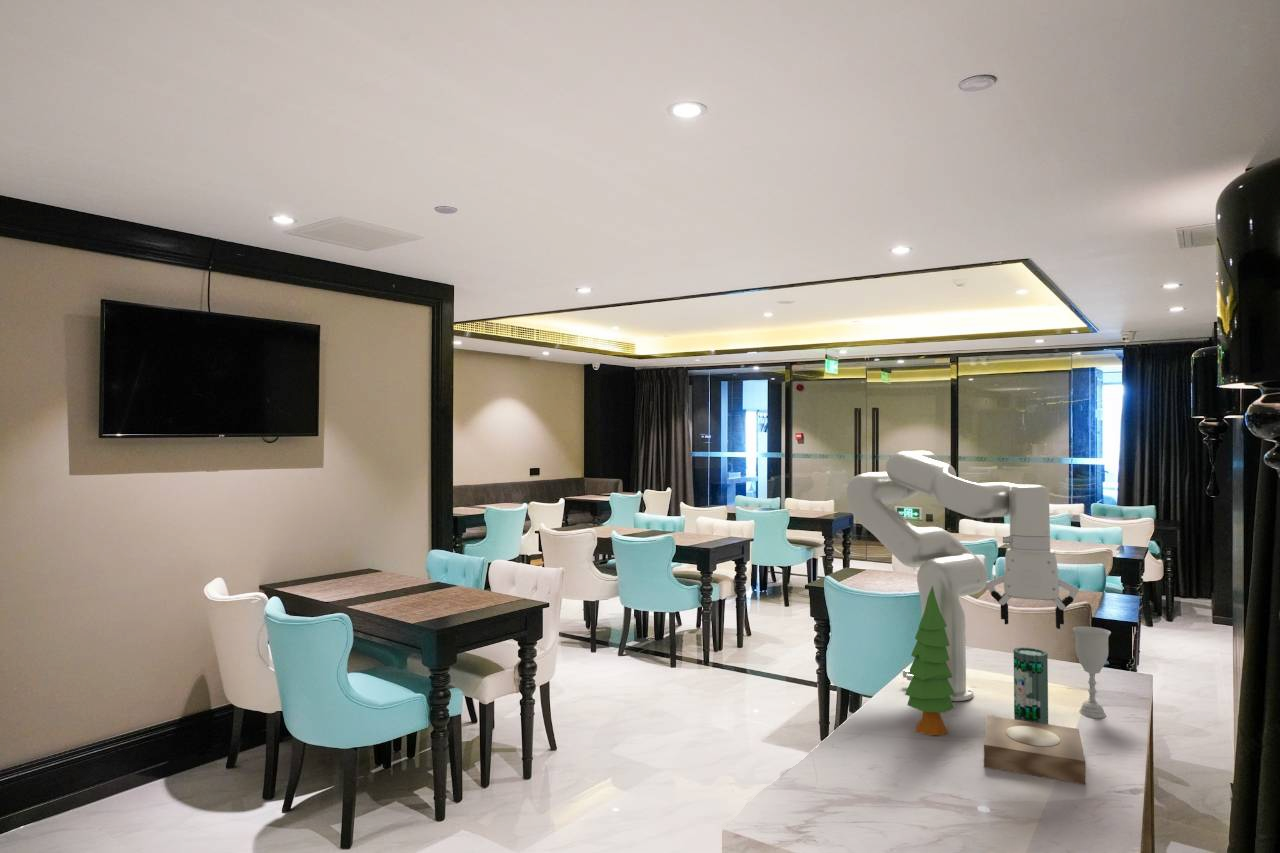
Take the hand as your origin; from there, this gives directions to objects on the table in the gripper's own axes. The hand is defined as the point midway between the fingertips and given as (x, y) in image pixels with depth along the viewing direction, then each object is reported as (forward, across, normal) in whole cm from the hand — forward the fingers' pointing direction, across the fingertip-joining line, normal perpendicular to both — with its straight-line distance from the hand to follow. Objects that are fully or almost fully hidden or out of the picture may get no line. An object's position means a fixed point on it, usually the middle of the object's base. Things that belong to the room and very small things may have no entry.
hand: (1031, 625), depth 158 cm
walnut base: (+21, -1, -19) cm, 28 cm away
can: (+21, -1, 0) cm, 21 cm away
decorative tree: (+21, -20, -13) cm, 31 cm away
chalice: (+21, +11, +12) cm, 27 cm away
